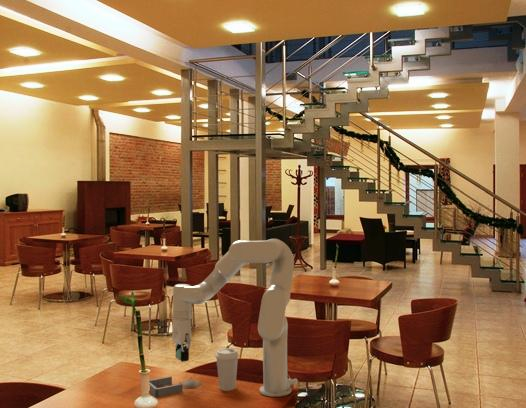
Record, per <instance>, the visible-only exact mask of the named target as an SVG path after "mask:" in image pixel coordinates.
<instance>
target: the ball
mask: <svg viewBox="0 0 526 408" xmlns="http://www.w3.org/2000/svg"><path fill="white" fill-rule="evenodd" d="M181 351H182V348H180V349H178V350H177V352H176V351H175V358H176V357H177V358H176V359H177V360H179V361H181Z"/></svg>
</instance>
